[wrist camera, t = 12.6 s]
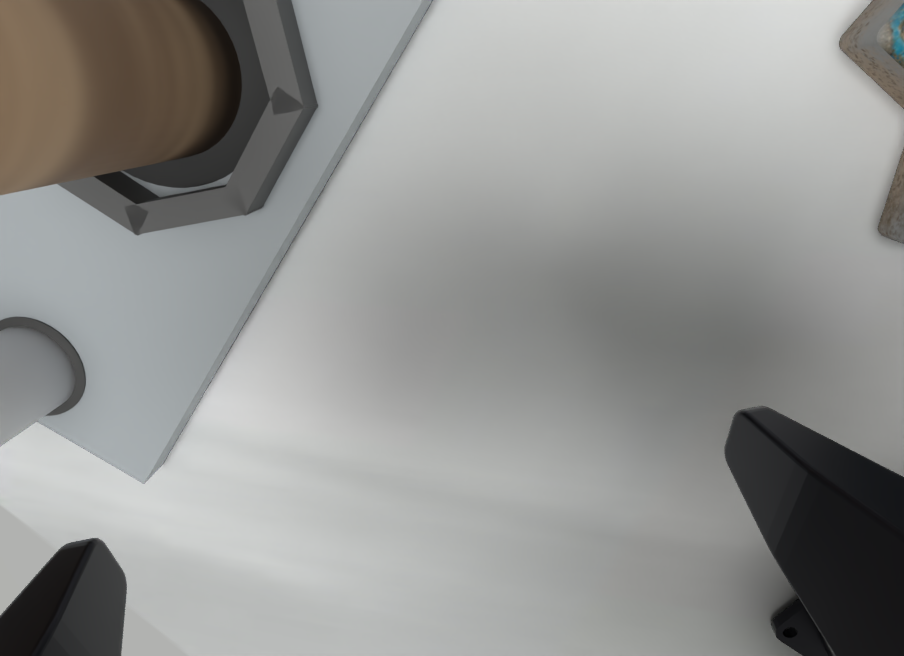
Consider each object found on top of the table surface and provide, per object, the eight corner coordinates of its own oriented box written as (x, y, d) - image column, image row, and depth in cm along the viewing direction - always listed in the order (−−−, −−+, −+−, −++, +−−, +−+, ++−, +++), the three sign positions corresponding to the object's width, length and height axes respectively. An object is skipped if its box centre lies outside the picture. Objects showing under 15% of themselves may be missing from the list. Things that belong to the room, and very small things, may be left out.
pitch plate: (463, -53, 16) (403, -223, 7) (162, 464, 23) (-50, 688, 14) (119, -319, 14) (-452, -911, 6) (-88, 316, 21) (-486, 465, 13)
